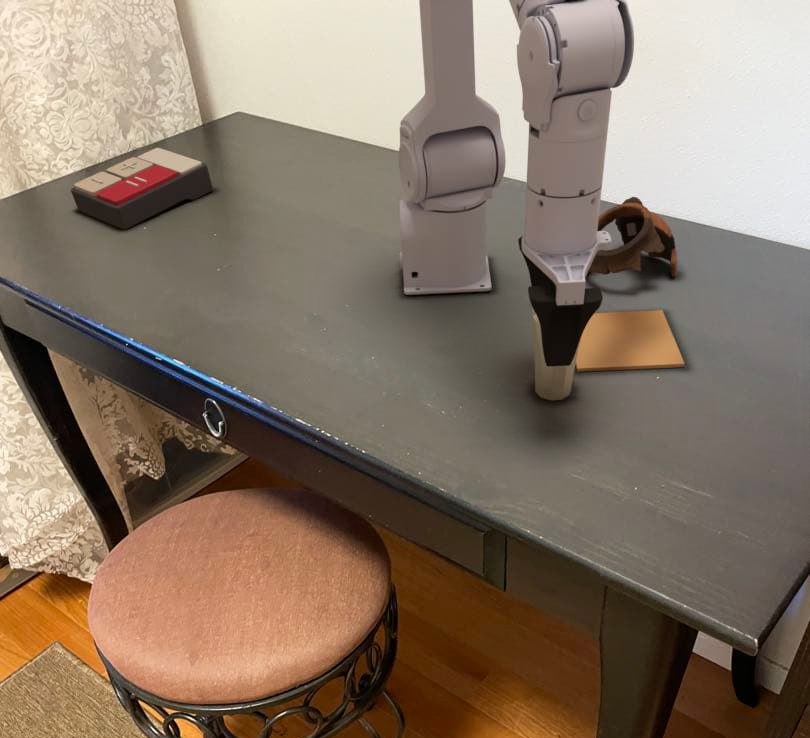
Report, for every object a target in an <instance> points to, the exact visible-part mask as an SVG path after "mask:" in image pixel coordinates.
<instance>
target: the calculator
mask: <svg viewBox="0 0 810 738" xmlns="http://www.w3.org/2000/svg"><path fill="white" fill-rule="evenodd" d="M213 190H214V187H213V183H212V180H211V176H210V171H209V168H208V165H207V163H204V162H202V161H200V160H197V159H194V158H191V157H188V156H185V155H182V154H179V153H175V152H173V151H171V150H167V149H164V148H161V147H155V148H152V149H151V150H148V151H146V152H144V153H142V154H140V155H138V156H137V157H134V156H132V157H130V158H128V159H125V160H124V161H122V162H118V163H116V164H115V165H112V166H111V167H108V168H107V169H106V170H105V171H100V172H97V173H94V174H93V175H90V176H89V177H85V178H84V179H82V180H80V181H77V182H75V183H74V184H73V187H71V189H70V192H71V194H72V197H73V200H74V203H75V205H76V208H77V210H78V212H81V213H83V214H86V215H87V216H90V217H93V218H95V219H97V220H99V221H102V222H104V223H106V224H109V225H111V226H114V227H116V228H118V229H121V230H124V231H125V230H127V229H129V228H132V227H134V226H136V225H138V224H139V223H141V222H144V221H146V220H147V219H149V218H151V217H154V216H155V215H158V214H159V213H161V212H163V211H165V210H167V209H169V208H171V207H173V206H176V205H178V204H179V203H181V202H183V201H185V200H189V201H194V200H197V199H199V198H200V197H203V196H205V195H206V194H209V193H210V192H213Z"/></svg>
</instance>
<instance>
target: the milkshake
mask: <svg viewBox="0 0 810 738" xmlns="http://www.w3.org/2000/svg"><path fill="white" fill-rule="evenodd" d="M524 297H525V299H526V301H527V303H528V306H529V308H530V311H531V313H532V327H533V328H532V330H533V331H532V332H533V345H534V346H533V347H534V349H533V350H534V351H533V352H534V388H535V391H534V392H535V393H536V395H537V396H538V397H539V398H541V399H543V400H548V401H551V402H553V401H562V400H565V399H566V398H568V397H569V396H571V392H572V385H573V380H574V374H575V370H576V365H575V364H576V359H577V353H578V349H579V345H580V341H581V339H580V341H579V344H578V347H577V350H576V353H575V356H574V358H573V361H572V363H571V365H569V366H549V367H548V366H546V363H545V358H544V353H543V347H542V337H541V327H540V323H539V320H538V317H537V315H536V313H535V311H534V309H533V308H532V306H531V303H530V301H529V300H528V298H527V295H526V293H525V292H524ZM581 337H582V336H581Z"/></svg>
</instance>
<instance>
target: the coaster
mask: <svg viewBox="0 0 810 738" xmlns="http://www.w3.org/2000/svg"><path fill="white" fill-rule="evenodd" d="M684 367H685V361H684V359H683V356H682V354H681V352H680V349H679V347H678V344H677V341H676V340H675V336H674V334H673V332H672V330H671V327H670V325H669V323H668V320H667V318H666V315H665V313H664V310H663V309H657V310H656V309H655V310H635V311H634V310H633V311H614V312H612V311H611V312H610V311H609V312H595V313H594V314H593V316H592V317H591V318H590V320H589V322H588V323H587V325H586V327H585V329H584V331H583V333H582V337H581V341H580V345H579V349H578V353H577V359H576V364H575V370H576V372H602V371H623V370H624V371H625V370H627V371H628V370H649V369H669V368H670V369H672V368H684Z"/></svg>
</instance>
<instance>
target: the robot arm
mask: <svg viewBox="0 0 810 738" xmlns="http://www.w3.org/2000/svg"><path fill="white" fill-rule="evenodd" d="M418 2H419V4H418V5H419V17H420V18H419V19H420V34H421V49H422V64H423V65H422V66H423V79H424V80H423V81H424V95H423V97H421V99H420V100H419V101H417V103H416V104H415V105H414V106H413V107H412V108H411V109H410V110H409V111H408V112H407V113H406V114H405V115H404V116H403V118H402V119H401V120H400V122H399V123H400V124H399V125H400V126H399V148H398V171H399V176H400V177H399V178H400V181H401V185H402V188H403V191H404V193H405V194H406V196H407V197H408V198H403V199H400V200H399V225H400V226H399V227H400V228H399V229H400V244H401V251H399V268H400V269H401V270H402V278H403V294H405V295H407V296H413V295H416V296H417V295H432V294H433V295H434V294H435V295H436V294H452V293H453V294H455V293H474V292H475V293H476V292H478V293H479V292H489V291H491V290H492V281H491V273H490V266H489V257H488V255H487V204H488V203H487V202H488V201H487V200H490V199H493V196H494V195H493V192H494V189H496V188H497V187H499V186H500V184H501V182H502V179H503V177H504V175H505V171H506V162H507V161H506V159H507V158H506V150H505V149H506V148H505V144H504V140H503V137H502V130H501V129H502V127H501V118H500V114H499V112H498V111H497V110H496V108H494V106H493V105H492V104H491V103H489V102H487V100H485V99H484V98H482V97H481V96H479V95H478V94H476V93H477V92H476V63H475V33H474V30H475V29H474V27H475V26H474V0H418ZM508 2H509V4H510V7H511V11H512V12H513V15H514V17H515V20H516V23H517V26H518V29H519V37H518V44H516V61H517V63H516V64H517V71H518V77H519V80H520V85H521V90H522V91H521V92H522V104H521V105H522V106H521V109H522V112H523V118H524V120H525V121H526V122H527V123H528V141H527V143H528V144H527V164H526V165H527V166H526V185H525V186H526V189H525V207H524V209H525V210H524V233H523V235H521V236H520V237H519V238H518V239H517V242H518V247H519V251H520V252H521V255H522V257H523V259H524V261H525V264H526V266H527V270H528V273H529V280H530V286H527V287H528V288H527V293H528V298H529V303H530V306H531V308H532V310H533V309H534V311H535V313H536V315H537V317H538V320H539V323H540V327H541V337H542V347H543V353H544V358H545V363H546V366H548V367H549V366H569V365H571V363H572V361H573V358H574V356H575V353H576V350H577V347H578V344H579V341H580V339H581V336H582V333H583V331H584V329H585V327H586V325H587V323H588V322H589V320H590V318H591V317H592V316H593V314H594V313H597V311H598V310H599V308H600V307H601V305H602V302H603V300H604V299H603V298H604V297H603V293H602V289H601V287H586V277H587V274H588V270H589V268H590V266H591V264H592V262H593V259H594V257H595V255H596V253H597V251H599V250H610V249H611V248H612V241H613V240H612V237H611V234H610V233H609V232H608V231H607V230H601V231H597V229H598V220H599V216H600V210H601V199H602V188H603V181H604V180H603V179H604V170H605V162H606V151H607V140H608V131H609V123H610V115H611V114H610V113H611V105H612V104H611V103H612V102H611V101H612V94H613V91H612V90H611V89H615V88H616V89H617V88H618V87H620V86H621V85H622V84H623V83H624V82H625V80H626V79H627V77H628V75H629V73H630V71H631V67H632V62H633V59H634V52H635V50H634V49H635V31H634V24H633V20H632V19H633V18H632V15H631V13H630V10H629V5H628V2H627V0H508Z"/></svg>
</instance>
